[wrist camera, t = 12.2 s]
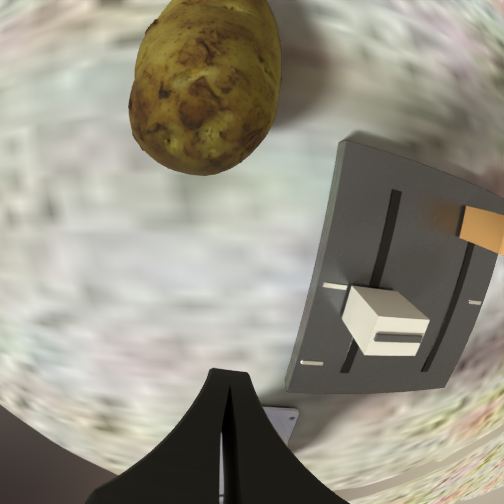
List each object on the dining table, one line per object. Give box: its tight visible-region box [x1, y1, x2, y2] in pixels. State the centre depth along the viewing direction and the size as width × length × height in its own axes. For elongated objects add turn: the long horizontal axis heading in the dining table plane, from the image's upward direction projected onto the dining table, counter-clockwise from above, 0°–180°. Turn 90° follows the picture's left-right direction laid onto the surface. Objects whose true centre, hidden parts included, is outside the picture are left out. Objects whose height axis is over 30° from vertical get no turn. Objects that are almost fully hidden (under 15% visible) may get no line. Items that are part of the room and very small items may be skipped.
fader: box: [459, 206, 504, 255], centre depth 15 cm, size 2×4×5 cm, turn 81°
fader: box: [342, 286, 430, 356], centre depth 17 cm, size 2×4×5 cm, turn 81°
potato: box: [128, 0, 282, 176], centre depth 13 cm, size 8×13×8 cm, turn 156°
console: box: [285, 141, 504, 394], centre depth 20 cm, size 18×16×2 cm
